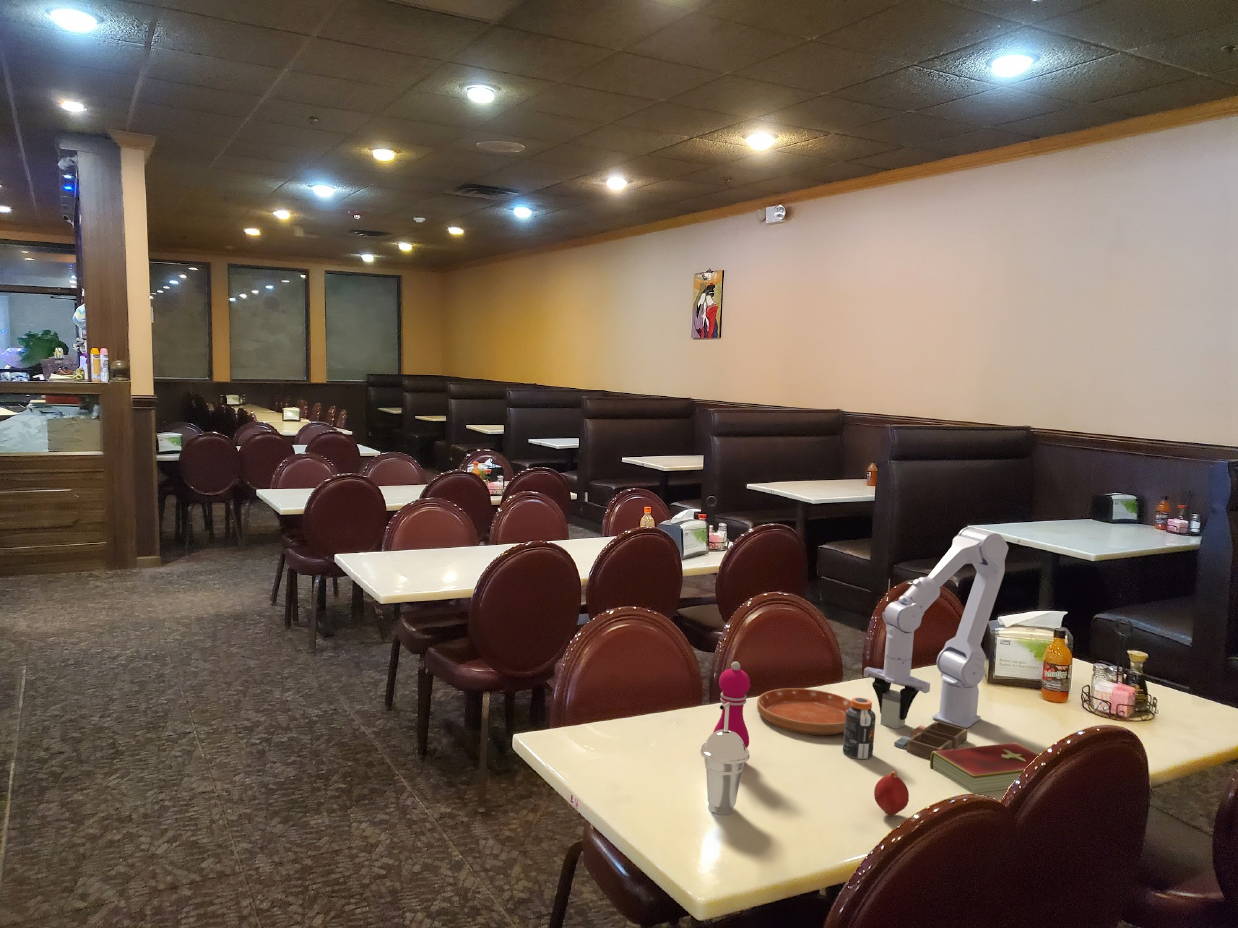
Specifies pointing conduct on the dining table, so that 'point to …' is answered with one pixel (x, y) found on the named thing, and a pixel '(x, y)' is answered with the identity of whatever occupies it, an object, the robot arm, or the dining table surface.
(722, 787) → the cup with straw
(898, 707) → the plug
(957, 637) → the robot arm
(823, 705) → the saucer
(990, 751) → the hardcover book
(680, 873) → the dining table surface
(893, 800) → the onion
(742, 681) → the pepper mill
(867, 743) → the pill bottle
